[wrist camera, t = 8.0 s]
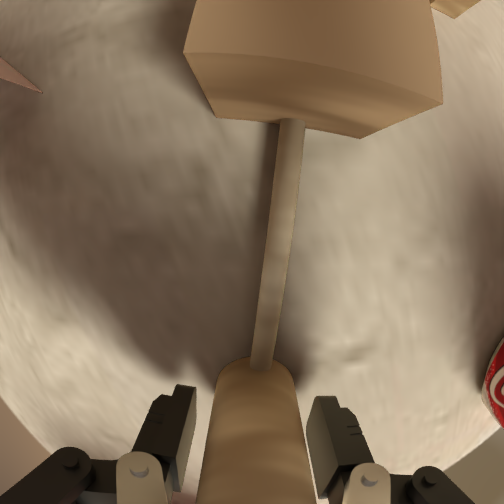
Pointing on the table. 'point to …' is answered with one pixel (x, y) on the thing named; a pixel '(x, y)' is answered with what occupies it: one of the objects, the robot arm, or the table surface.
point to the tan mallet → (295, 186)
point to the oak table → (452, 6)
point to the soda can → (495, 385)
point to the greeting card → (14, 76)
